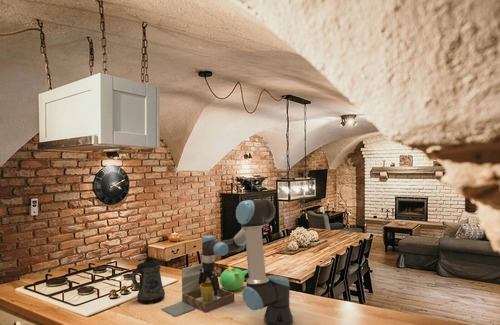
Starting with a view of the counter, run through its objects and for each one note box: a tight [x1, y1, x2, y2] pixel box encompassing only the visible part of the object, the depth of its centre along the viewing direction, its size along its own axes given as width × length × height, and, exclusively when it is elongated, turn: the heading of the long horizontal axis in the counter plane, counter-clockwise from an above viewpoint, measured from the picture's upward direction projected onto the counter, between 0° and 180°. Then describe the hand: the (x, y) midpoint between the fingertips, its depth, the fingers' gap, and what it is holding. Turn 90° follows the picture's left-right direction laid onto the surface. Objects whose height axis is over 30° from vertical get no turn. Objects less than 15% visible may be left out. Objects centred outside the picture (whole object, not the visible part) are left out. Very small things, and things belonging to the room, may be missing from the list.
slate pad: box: [160, 301, 197, 318], centre depth 197 cm, size 14×14×1 cm
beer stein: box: [130, 257, 166, 305], centre depth 212 cm, size 16×19×25 cm
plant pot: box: [200, 282, 213, 303], centre depth 208 cm, size 10×10×10 cm
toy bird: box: [219, 266, 249, 291], centre depth 229 cm, size 18×17×15 cm
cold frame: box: [181, 263, 235, 314], centre depth 208 cm, size 23×22×20 cm
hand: (208, 298), depth 208 cm, fingers closed on plant pot, 10 cm apart
